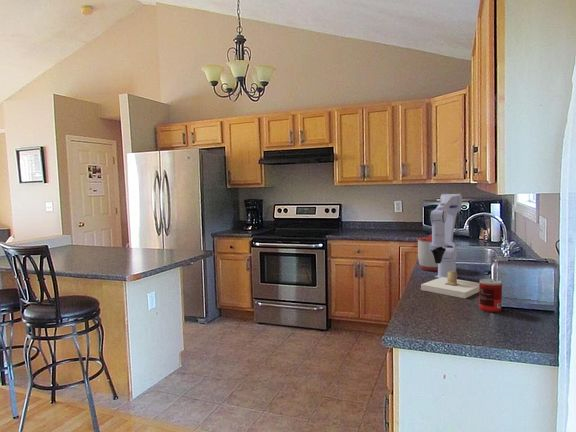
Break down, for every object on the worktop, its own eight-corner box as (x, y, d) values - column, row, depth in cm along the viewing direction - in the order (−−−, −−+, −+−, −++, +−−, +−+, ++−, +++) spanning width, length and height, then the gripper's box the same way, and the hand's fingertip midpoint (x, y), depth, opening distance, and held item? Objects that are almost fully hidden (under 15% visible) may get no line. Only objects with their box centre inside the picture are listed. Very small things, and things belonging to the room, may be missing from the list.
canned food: (498, 307, 156) (499, 279, 155) (503, 313, 148) (504, 284, 148) (477, 305, 158) (477, 278, 157) (481, 312, 150) (481, 283, 150)
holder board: (441, 281, 196) (441, 276, 196) (484, 289, 182) (484, 283, 182) (420, 289, 183) (420, 284, 183) (465, 298, 168) (465, 292, 168)
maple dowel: (449, 287, 185) (449, 270, 185) (458, 289, 182) (458, 272, 182) (445, 289, 183) (445, 272, 182) (454, 291, 180) (454, 273, 179)
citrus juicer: (449, 267, 230) (449, 232, 228) (444, 273, 215) (444, 236, 213) (421, 264, 238) (421, 231, 236) (414, 270, 223) (414, 234, 221)
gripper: (437, 232, 200) (437, 259, 201) (422, 235, 190) (422, 264, 191) (451, 233, 194) (451, 261, 196) (437, 237, 185) (436, 266, 186)
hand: (438, 263), depth 193 cm, fingers closed
